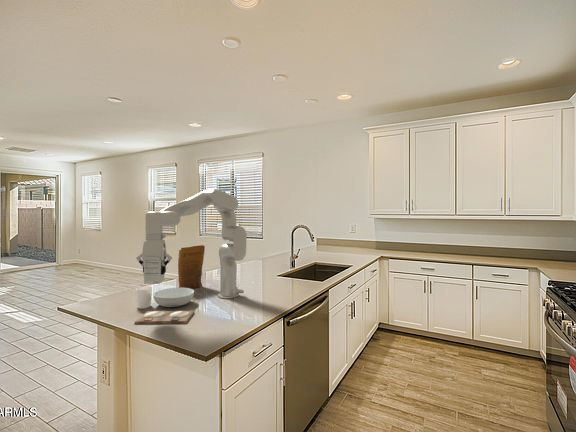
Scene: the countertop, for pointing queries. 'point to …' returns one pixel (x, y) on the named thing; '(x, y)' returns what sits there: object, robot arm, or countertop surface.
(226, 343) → the countertop surface
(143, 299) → the white cup
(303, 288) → the countertop surface
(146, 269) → the supplement box
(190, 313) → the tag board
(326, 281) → the countertop surface
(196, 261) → the pancake mix bag
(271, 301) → the countertop surface
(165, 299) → the serving bowl
